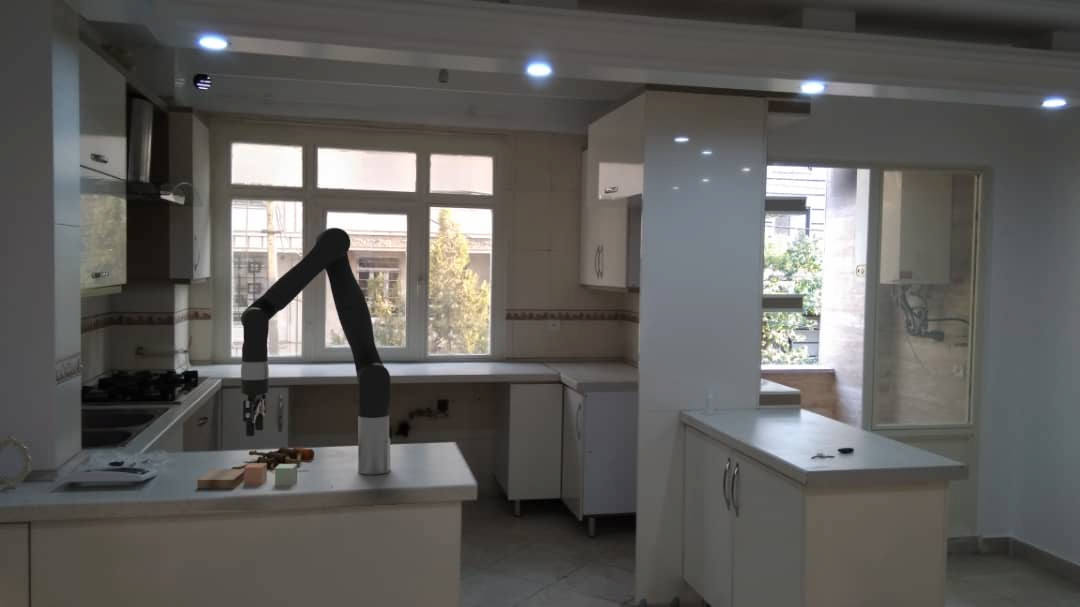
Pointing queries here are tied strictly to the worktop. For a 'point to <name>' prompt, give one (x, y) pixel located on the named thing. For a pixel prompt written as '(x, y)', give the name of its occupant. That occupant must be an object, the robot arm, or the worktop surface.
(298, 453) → the toy
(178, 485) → the worktop surface
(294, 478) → the sage block
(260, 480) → the terracotta block
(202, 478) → the base board
